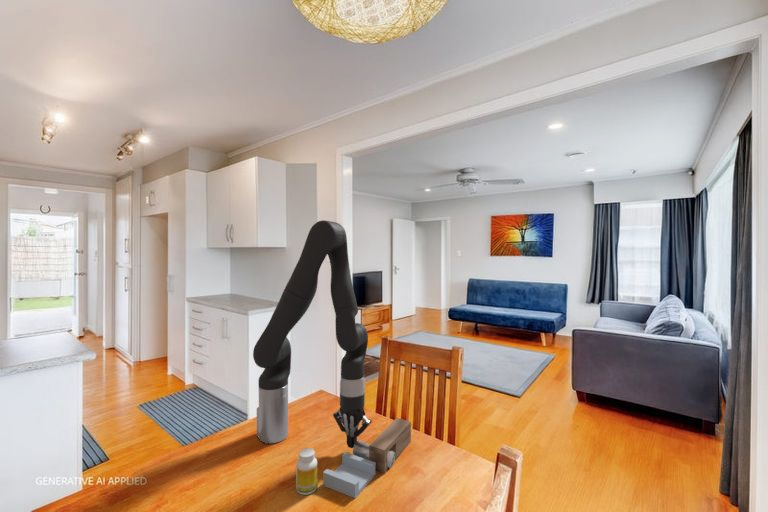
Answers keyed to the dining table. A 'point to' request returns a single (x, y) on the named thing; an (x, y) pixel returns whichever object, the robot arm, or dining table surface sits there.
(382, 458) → the beam
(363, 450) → the axle
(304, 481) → the supplement bottle
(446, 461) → the dining table surface
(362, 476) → the cradle
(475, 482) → the dining table surface
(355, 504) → the dining table surface
